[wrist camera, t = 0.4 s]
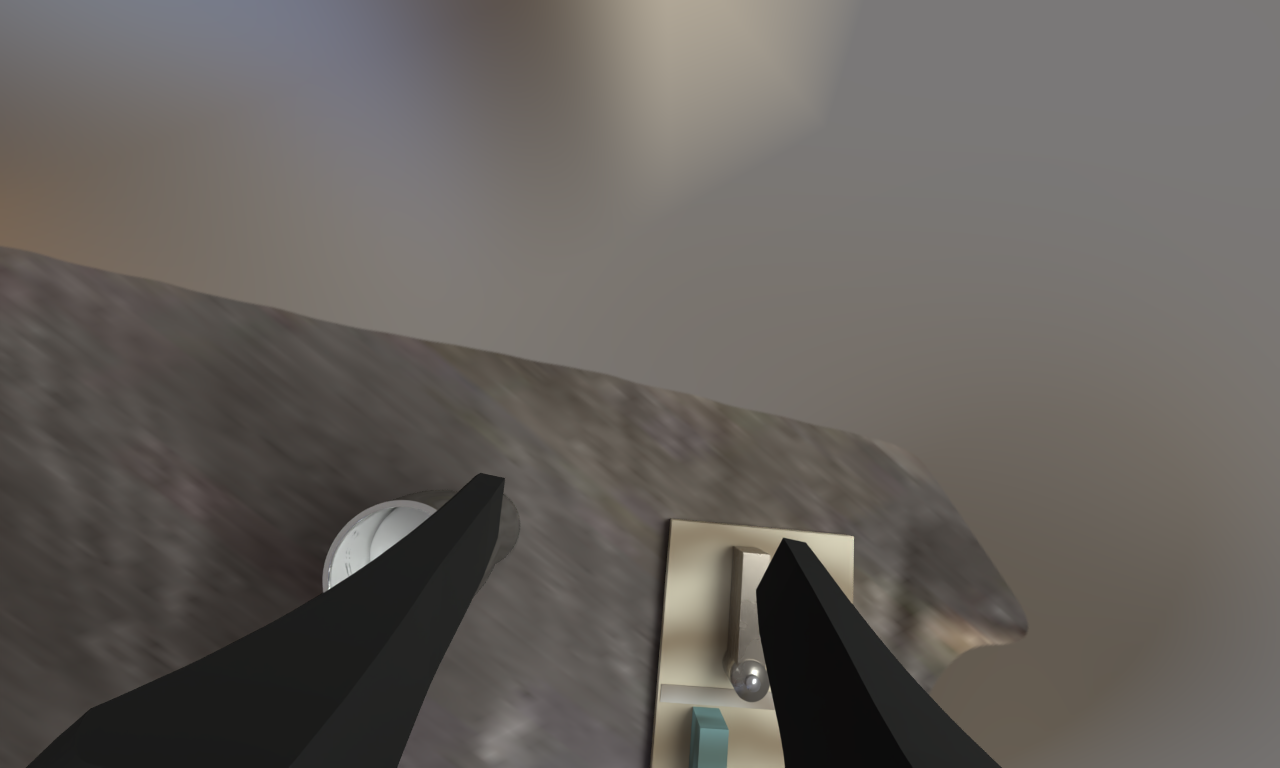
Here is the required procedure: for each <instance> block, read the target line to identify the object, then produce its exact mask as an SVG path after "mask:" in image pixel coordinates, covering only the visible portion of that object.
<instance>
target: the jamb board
mask: <svg viewBox="0 0 1280 768" xmlns="http://www.w3.org/2000/svg"><path fill="white" fill-rule="evenodd" d="M783 538H788V539H792V540H797V541H802V542H806V543H807V544H808V546H809V547H810V548H811V550H812V551H813V552H814V553H815V555H816V556H817V557H818V559H819V560H820V561H821V563H822V564H823V565H824V567H825V568H826V569H827V571H828V572H829V573H830V575H831V576H832V578H833V579H834V580H835V582H836V583H837V584H838V586H839V587H840V588H841V590H842V591H843V592H844V594H845V595H846V596H847V598H848V599H849V600H850V602H851V603H852V604H853V560H854V537H853V536H849V535H843V534H832V533H822V532H811V531H800V530H789V529H779V528H768V527H757V526H746V525H735V524H725V523H714V522H703V521H692V520H681V519H671V518H670V529H669V541H668V553H667V566H666V578H665V590H664V602H663V614H662V627H661V639H660V651H659V663H658V675H657V688H656V700H655V712H654V724H653V736H652V749H651V761H650V768H785V764H784V755H783V749H782V743H781V737H780V731H779V726H778V722H777V717H776V712H775V707H774V702H773V698H772V693H771V688H770V686H769V690H768V692H767V694H766V695H765V697H764V698H762V699H761V700H759V701H757V702H747V701H744V700H743V699H741V698H740V697H739V696H738V695H737V693H736V691H735V690H734V688H733V686H732V684H731V683H730V681H729V679H728V677H727V675H726V674H725V672H724V669H723V657H724V654H725V652H726V651H727V643H728V626H729V608H730V591H731V573H732V556H733V546H744V547H755V548H759V549H761V550H763V551H764V552H766V553H768V554H770V562H771V560H772V558H773V556H774V554H775V552H776V550H777V548H778V546H779V544H780V542H781V541H782V539H783ZM765 669H766V664H765ZM766 670H767V669H766Z"/></svg>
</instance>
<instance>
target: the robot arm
mask: <svg viewBox="0 0 1280 768" xmlns="http://www.w3.org/2000/svg"><path fill="white" fill-rule="evenodd" d="M504 482H505V478H502V477H497V476H492V475H488V474H483V473H480V474H478V475H476V476H475V477H474V478H473V479H472V480H471V481H470V482H469V483H467V484H466V485H465V486H464V487H463V488H462V489H461V490H460V491H459V492H458V493H457V494H456V495H454V496H453V497H452V498H451V499H450V500H449V501H448V502H446V503H445V504H444V505H443V506H442V507H441V508H440V509H438V510H437V511H436V512H435V513H434V514H432V515H431V516H430V517H429V518H428V519H426V520H425V521H424V522H423V523H421V524H420V525H419V526H418V527H417V528H415V529H414V530H413V531H412V532H410V533H409V534H408V535H406V536H405V537H404V538H402V539H401V540H400V541H398V542H397V543H396V544H394V545H393V546H392V547H390V548H389V549H388V550H386V551H385V552H384V553H382V554H381V555H380V556H378V557H377V558H375V559H374V560H373V561H371V562H370V563H368V564H367V565H365V566H364V567H362V568H361V569H359V570H358V571H356V572H355V573H353V574H352V575H350V576H349V577H347V578H346V579H344V580H343V581H341V582H340V583H338V584H336V585H335V586H333V587H332V588H330V589H329V590H327V591H325V592H324V593H322V594H320V595H319V596H317V597H315V598H314V599H312V600H310V601H308V602H307V603H305V604H303V605H302V606H300V607H298V608H297V609H295V610H293V611H292V612H290V613H288V614H286V615H285V616H283V617H281V618H279V619H277V620H276V621H274V622H272V623H270V624H268V625H266V626H265V627H263V628H261V629H259V630H257V631H255V632H253V633H251V634H249V635H247V636H245V637H243V638H241V639H239V640H237V641H235V642H233V643H231V644H230V645H228V646H226V647H224V648H222V649H220V650H218V651H216V652H214V653H212V654H210V655H208V656H206V657H204V658H202V659H200V660H198V661H196V662H194V663H192V664H190V665H187V666H185V667H183V668H181V669H179V670H177V671H174V672H172V673H170V674H168V675H165V676H163V677H161V678H159V679H157V680H154V681H152V682H150V683H148V684H145V685H143V686H141V687H139V688H137V689H134V690H132V691H130V692H128V693H126V694H123V695H121V696H119V697H117V698H114V699H112V700H110V701H107V702H105V703H103V704H100V705H98V706H96V707H93V708H91V709H90V710H89V711H87V712H86V713H85V714H84V715H83V716H82V717H81V718H80V719H78V720H77V721H76V722H75V723H74V724H73V725H71V726H70V727H69V728H68V729H67V730H66V731H64V732H63V733H62V734H61V735H60V736H59V737H57V738H56V739H55V740H54V741H53V742H52V743H51V744H50V745H49V746H48V747H47V748H46V749H45V750H44V751H43V752H42V753H41V754H40V755H39V756H38V757H37V758H36V759H35V760H34V761H33V762H31V763H30V764H29V765H28V766H27V767H26V768H397V766H398V764H399V761H400V759H401V756H402V753H403V751H404V748H405V746H406V743H407V741H408V738H409V736H410V733H411V731H412V728H413V726H414V723H415V721H416V718H417V716H418V713H419V711H420V708H421V706H422V703H423V701H424V698H425V696H426V693H427V691H428V688H429V686H430V684H431V682H432V680H433V677H434V675H435V673H436V671H437V669H438V666H439V664H440V662H441V660H442V658H443V656H444V654H445V652H446V650H447V648H448V646H449V644H450V642H451V641H452V639H453V637H454V635H455V633H456V631H457V629H458V627H459V625H460V623H461V621H462V619H463V617H464V615H465V613H466V611H467V609H468V607H469V605H470V603H471V601H472V599H473V597H474V595H475V593H476V591H477V589H478V587H479V584H480V582H481V580H482V578H483V576H484V574H485V571H486V568H487V566H488V563H489V561H490V558H491V555H492V552H493V550H494V547H495V544H496V542H497V539H498V534H499V525H500V516H501V508H502V499H503V491H504ZM756 601H757V615H758V625H759V634H760V639H761V644H762V649H763V654H764V659H765V664H766V669H767V674H768V678H769V683H770V688H771V693H772V698H773V702H774V707H775V712H776V717H777V722H778V726H779V731H780V737H781V743H782V749H783V755H784V764H785V768H1002V767H1000V766H999V765H998V764H997V763H996V762H995V761H994V760H993V759H992V758H991V757H990V756H989V755H988V754H987V753H986V752H985V751H984V750H983V749H982V748H980V747H979V746H978V744H976V743H975V742H974V741H973V740H972V739H971V738H970V737H969V736H968V735H967V734H966V733H965V732H964V731H963V730H962V729H961V728H960V727H959V726H958V725H957V724H956V723H955V722H954V721H953V720H952V719H951V718H950V717H949V716H948V715H947V714H946V713H945V712H944V711H943V710H942V709H941V708H940V706H938V704H937V703H936V702H935V701H934V700H933V699H932V698H931V697H930V696H929V695H928V694H927V692H926V691H925V690H924V689H923V688H922V687H921V686H920V685H919V684H918V683H917V682H916V681H915V679H914V678H913V677H912V676H911V675H910V674H909V673H908V672H907V671H906V669H905V668H904V667H903V666H902V665H901V664H900V662H899V661H898V660H897V659H896V658H895V656H894V655H893V654H892V653H891V652H890V650H889V649H888V648H887V647H886V646H885V645H884V643H883V642H882V641H881V640H880V638H879V637H878V636H877V635H876V634H875V632H874V631H873V630H872V629H871V627H870V626H869V625H868V624H867V622H866V621H865V620H864V618H863V617H862V616H861V615H860V613H859V612H858V611H857V609H856V608H855V607H854V605H853V604H852V603H851V602H850V600H849V599H848V598H847V596H846V595H845V594H844V592H843V591H842V590H841V588H840V587H839V586H838V584H837V583H836V582H835V580H834V579H833V578H832V576H831V575H830V573H829V572H828V571H827V569H826V568H825V567H824V565H823V564H822V563H821V561H820V560H819V559H818V557H817V556H816V555H815V553H814V552H813V551H812V550H811V548H810V547H809V546H808V544H807V543H806V542H802V541H797V540H792V539H788V538H783V539H782V541H781V542H780V544H779V546H778V548H777V550H776V552H775V554H774V556H773V558H772V560H771V562H770V564H769V566H768V568H767V569H766V571H765V573H764V575H763V577H762V579H761V581H760V583H759V585H758V587H757V589H756Z"/></svg>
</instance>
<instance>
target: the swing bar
mask: <svg viewBox="0 0 1280 768" xmlns="http://www.w3.org/2000/svg"><path fill="white" fill-rule="evenodd" d="M769 564H770V554H768V553H766V552H764V551H763V550H761V549H759V548H755V547H744V546H733V556H732V573H731V591H730V608H729V626H728V643H727V651H726V652H725V654H724V657H723V669H724V672H725V674H726V675H727V677H728V679H729V681H730V683H731V684H732V686H733V688H734V690H735V691H736V693H737V695H738V696H739V697H740V698H741V699H743V700H744V701H747V702H757V701H759V700H761V699H762V698H764V697H765V695H766V694H767V692H768V690H769V686H770V683H769V678H768V674H767V670H766V669H765V659H764V654H763V649H762V644H761V639H760V634H759V625H758V615H757V601H756V589H757V587H758V585H759V583H760V581H761V579H762V577H763V575H764V573H765V571H766V569H767V568H768V566H769Z"/></svg>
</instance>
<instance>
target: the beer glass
mask: <svg viewBox="0 0 1280 768" xmlns="http://www.w3.org/2000/svg"><path fill="white" fill-rule="evenodd" d="M457 493H458V492H457V491H452V490H429V491H422V492H417V493H413V494H408V495H405V496H402V497H399V498H396V499H393V500H390V501H387V502H383V503H379V504H376V505H374V506H371V507H369V508H367V509H365V510H364V511H362V512H361V513H359V514H358V515H356V516H355V517H354V518H352V519H351V520H350V521H349V522H348V523H347V524H346V525H345V526H344V527H343V528H342V529H341V531H340V532H339V533H338V535H337V536H336V537H335V539H334V541H333V542H332V544H331V546H330V548H329V551H328V553H327V556H326V559H325V563H324V567H323V575H322V586H323V593H324V592H325V591H327V590H329V589H330V588H332V587H333V586H335V585H336V584H338V583H340V582H341V581H343V580H344V579H346V578H347V577H349V576H350V575H352V574H353V573H355V572H356V571H358V570H359V569H361V568H362V567H364V566H365V565H367V564H368V563H370V562H371V561H373V560H374V559H375V558H377V557H378V556H380V555H381V554H382V553H384V552H385V551H386V550H388V549H389V548H390V547H392V546H393V545H394V544H396V543H397V542H398V541H400V540H401V539H402V538H404V537H405V536H406V535H408V534H409V533H410V532H412V531H413V530H414V529H415V528H417V527H418V526H419V525H420V524H421V523H423V522H424V521H425V520H426V519H428V518H429V517H430V516H431V515H432V514H434V513H435V512H436V511H437V510H438V509H440V508H441V507H442V506H443V505H444V504H445V503H446V502H448V501H449V500H450V499H451V498H452V497H453V496H454V495H456V494H457ZM519 532H520V519H519V515H518V512H517V509H516V507H515V505H514V504H513V502H512V501H511V500H510V499H509V498H508V497H507V496H505V495H504V494H503V499H502V508H501V516H500V525H499V534H498V539H497V542H496V544H495V547H494V550H493V552H492V555H491V558H490V561H489V563H488V566H487V568H486V571H485V574H484V576H483V578H482V580H481V582H480V584H479V587H478V589H477V591H476V593H475V595H476V594H477V593H478V592H479V590H480V589H481V588H482V587H483V586H484V584H485V583H486V581H487V580H488V578H489V576H490V574H491V572H492V570H493V568H494V566H495V564H497V563H498V562H500V561H501V560H503V559H504V558H505V557H506V556H507V555H508V554H509V553H510V552H511V551H512V549H513V548H514V546H515V544H516V542H517V539H518V536H519ZM475 595H474V596H475Z"/></svg>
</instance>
